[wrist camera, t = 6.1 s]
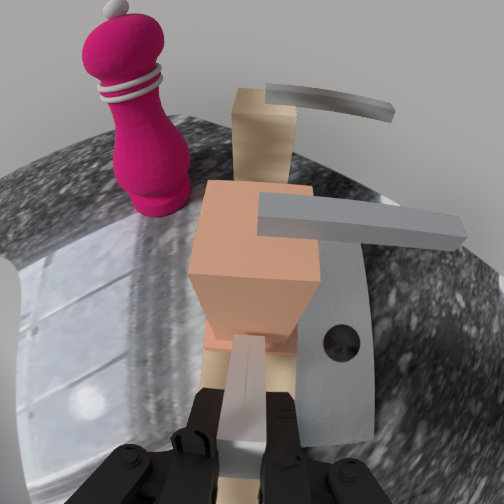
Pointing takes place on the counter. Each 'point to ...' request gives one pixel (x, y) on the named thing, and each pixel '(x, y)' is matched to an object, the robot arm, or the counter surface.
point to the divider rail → (273, 171)
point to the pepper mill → (138, 110)
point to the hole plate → (336, 353)
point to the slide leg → (286, 253)
